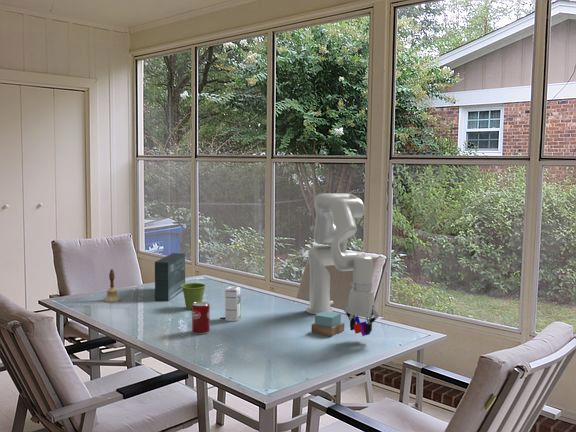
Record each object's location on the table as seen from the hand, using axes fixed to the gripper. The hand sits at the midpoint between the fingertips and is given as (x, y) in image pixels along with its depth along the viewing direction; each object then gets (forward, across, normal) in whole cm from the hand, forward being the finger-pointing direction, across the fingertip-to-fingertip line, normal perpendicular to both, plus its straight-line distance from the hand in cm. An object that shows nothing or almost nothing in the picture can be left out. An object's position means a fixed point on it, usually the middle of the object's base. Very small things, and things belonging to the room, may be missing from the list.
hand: (360, 330), depth 234 cm
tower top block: (+1, -17, +3) cm, 17 cm away
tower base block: (+5, -17, +3) cm, 18 cm away
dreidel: (+1, 0, 0) cm, 1 cm away
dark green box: (+8, -119, +12) cm, 120 cm away
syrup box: (+6, -61, -6) cm, 62 cm away
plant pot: (+6, -89, -2) cm, 90 cm away
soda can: (+5, -59, -29) cm, 66 cm away
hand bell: (+7, -133, -15) cm, 134 cm away
